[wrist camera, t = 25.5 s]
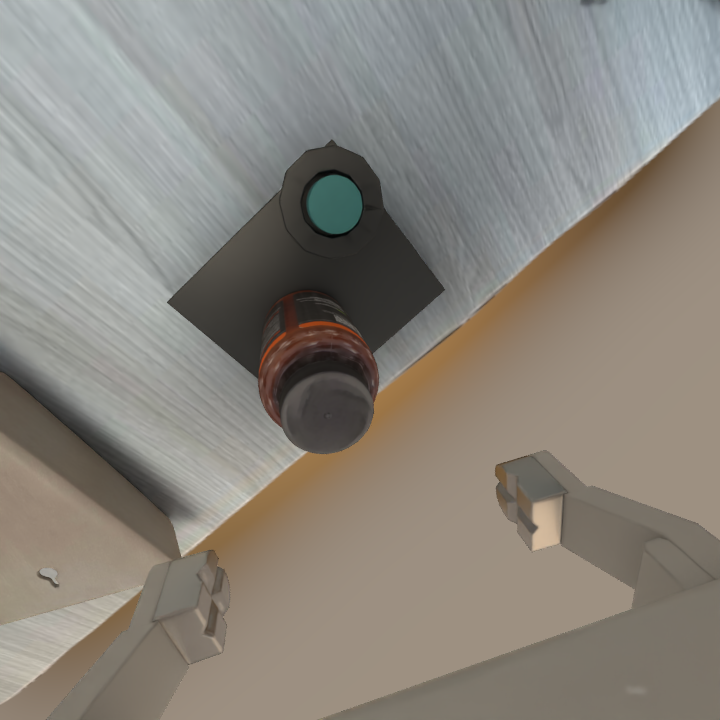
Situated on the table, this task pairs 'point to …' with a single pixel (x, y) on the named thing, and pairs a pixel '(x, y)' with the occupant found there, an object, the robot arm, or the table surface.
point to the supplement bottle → (316, 373)
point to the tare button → (334, 204)
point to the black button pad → (309, 264)
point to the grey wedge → (67, 516)
